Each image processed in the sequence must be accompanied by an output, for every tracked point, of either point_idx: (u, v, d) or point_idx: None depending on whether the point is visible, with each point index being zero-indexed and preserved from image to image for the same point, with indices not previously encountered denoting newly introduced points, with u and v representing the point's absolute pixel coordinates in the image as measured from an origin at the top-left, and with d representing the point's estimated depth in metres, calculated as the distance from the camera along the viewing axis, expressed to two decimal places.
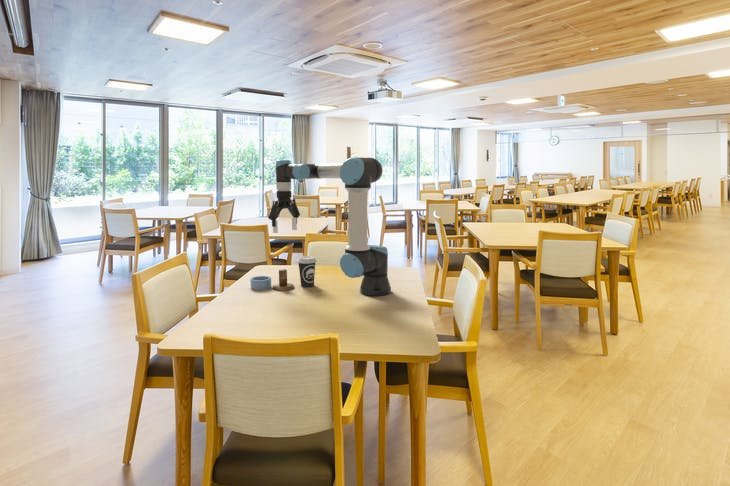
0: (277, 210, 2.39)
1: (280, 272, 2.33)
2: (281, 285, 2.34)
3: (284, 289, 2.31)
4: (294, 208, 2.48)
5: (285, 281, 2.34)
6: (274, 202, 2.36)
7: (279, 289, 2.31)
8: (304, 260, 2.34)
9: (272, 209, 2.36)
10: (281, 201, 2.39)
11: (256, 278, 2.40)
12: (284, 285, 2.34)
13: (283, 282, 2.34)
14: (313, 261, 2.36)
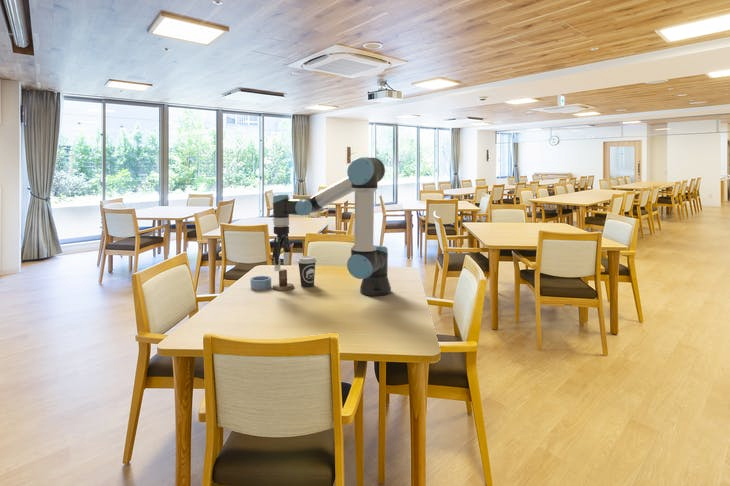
0: (278, 247, 2.28)
1: (280, 272, 2.33)
2: (281, 285, 2.34)
3: (284, 289, 2.31)
4: (286, 243, 2.39)
5: (285, 281, 2.34)
6: (277, 239, 2.25)
7: (279, 289, 2.31)
8: (304, 260, 2.34)
9: (275, 247, 2.25)
10: (281, 237, 2.29)
11: (256, 278, 2.40)
12: (284, 285, 2.34)
13: (283, 282, 2.34)
14: (313, 261, 2.36)
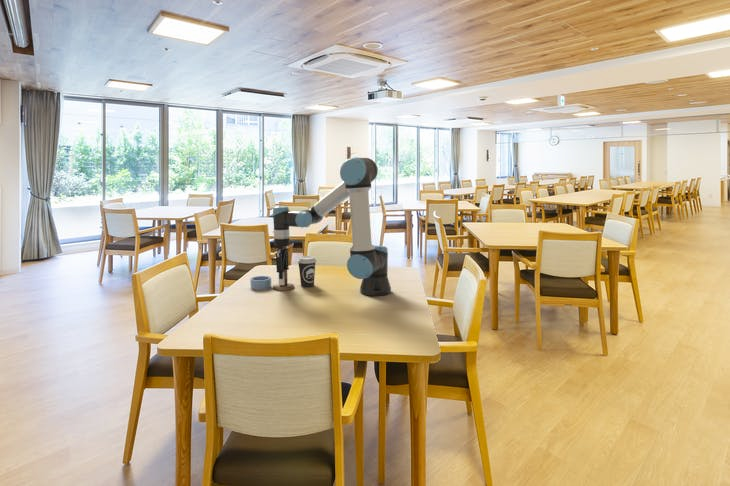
0: None
1: None
2: (281, 285, 2.34)
3: (284, 289, 2.31)
4: None
5: (285, 281, 2.34)
6: (278, 255, 2.27)
7: (279, 289, 2.31)
8: (304, 260, 2.34)
9: (278, 262, 2.28)
10: (282, 249, 2.29)
11: (256, 278, 2.40)
12: (284, 285, 2.34)
13: None
14: (313, 261, 2.36)
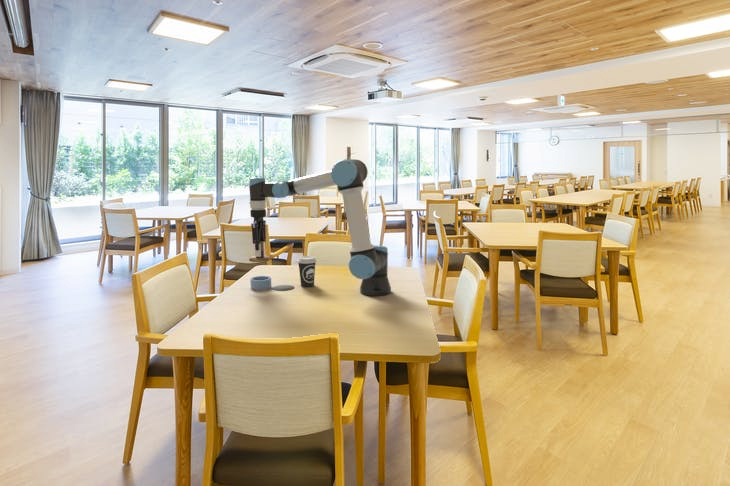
0: None
1: None
2: (257, 257, 2.33)
3: (260, 260, 2.30)
4: (262, 230, 2.37)
5: (261, 253, 2.33)
6: (253, 226, 2.26)
7: (255, 260, 2.30)
8: (304, 260, 2.34)
9: (254, 233, 2.27)
10: (258, 220, 2.29)
11: (256, 278, 2.40)
12: (260, 257, 2.33)
13: None
14: (313, 261, 2.36)
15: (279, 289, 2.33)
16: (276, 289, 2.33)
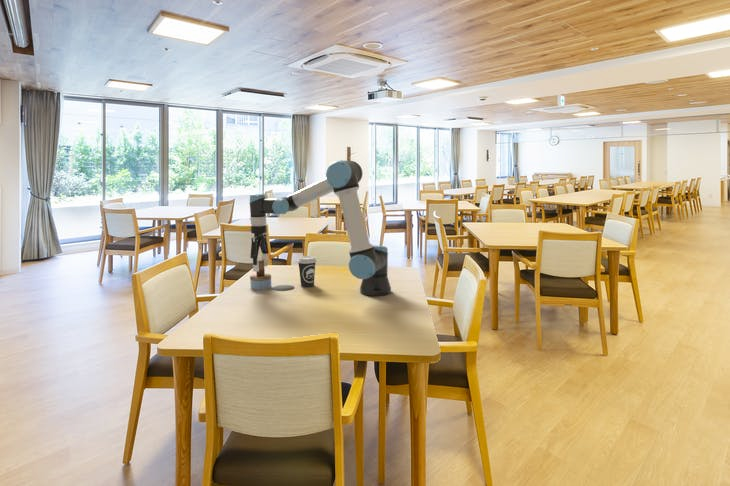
0: None
1: None
2: (258, 275, 2.35)
3: (261, 279, 2.32)
4: None
5: (262, 271, 2.35)
6: (254, 239, 2.27)
7: (256, 279, 2.32)
8: (304, 260, 2.34)
9: (253, 247, 2.27)
10: (258, 236, 2.30)
11: None
12: (261, 275, 2.35)
13: (260, 272, 2.34)
14: (313, 261, 2.36)
15: (279, 289, 2.33)
16: (276, 289, 2.33)
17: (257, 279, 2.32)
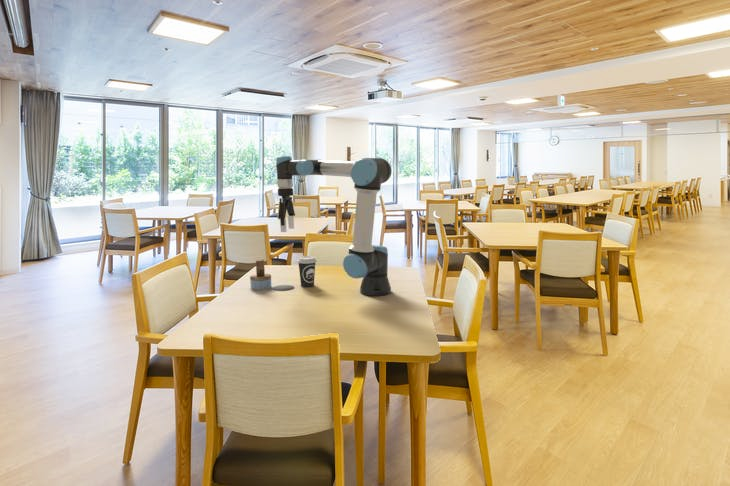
0: None
1: (257, 262, 2.34)
2: (258, 275, 2.35)
3: (261, 279, 2.32)
4: (290, 206, 2.42)
5: (262, 271, 2.35)
6: (282, 200, 2.27)
7: (256, 279, 2.32)
8: (304, 260, 2.34)
9: (281, 207, 2.27)
10: (286, 199, 2.31)
11: None
12: (261, 275, 2.35)
13: (260, 272, 2.34)
14: (313, 261, 2.36)
15: (279, 289, 2.33)
16: (276, 289, 2.33)
17: (257, 279, 2.32)
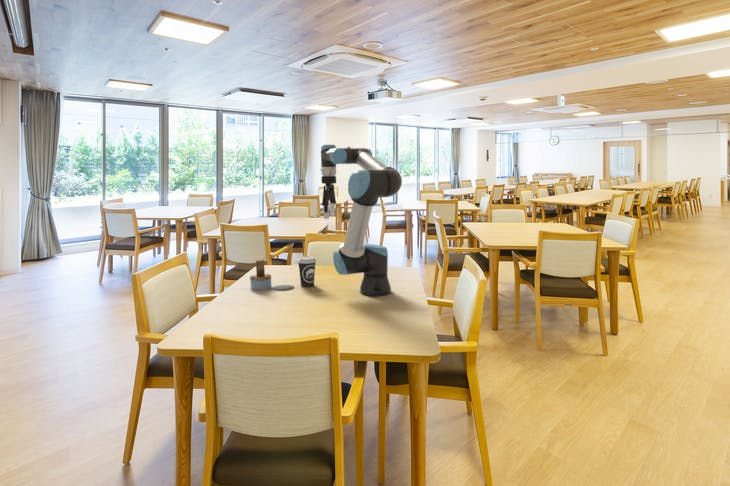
0: None
1: (257, 262, 2.34)
2: (258, 275, 2.35)
3: (261, 279, 2.32)
4: None
5: (262, 271, 2.35)
6: (326, 187, 2.33)
7: (256, 279, 2.32)
8: (304, 260, 2.34)
9: (325, 194, 2.33)
10: (329, 186, 2.37)
11: None
12: (261, 275, 2.35)
13: (260, 272, 2.34)
14: (313, 261, 2.36)
15: (279, 289, 2.33)
16: (276, 289, 2.33)
17: (257, 279, 2.32)
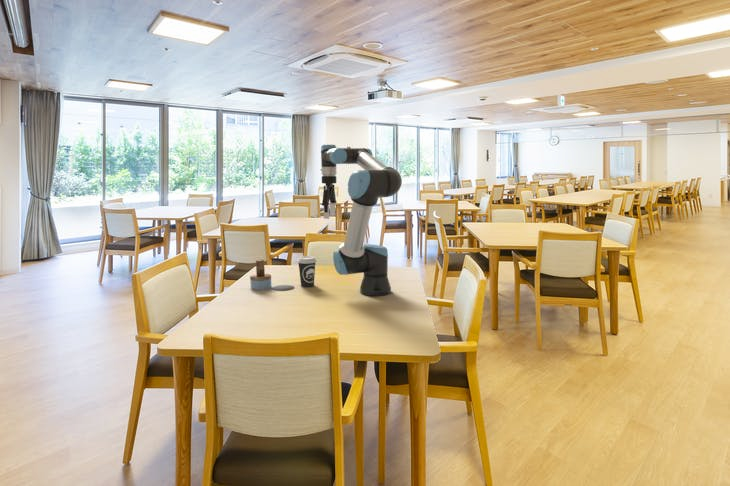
0: None
1: (257, 262, 2.34)
2: (258, 275, 2.35)
3: (261, 279, 2.32)
4: None
5: (262, 271, 2.35)
6: (326, 187, 2.33)
7: (256, 279, 2.32)
8: (304, 260, 2.34)
9: (325, 194, 2.33)
10: (329, 186, 2.37)
11: None
12: (261, 275, 2.35)
13: (260, 272, 2.34)
14: (313, 261, 2.36)
15: (279, 289, 2.33)
16: (276, 289, 2.33)
17: (257, 279, 2.32)
